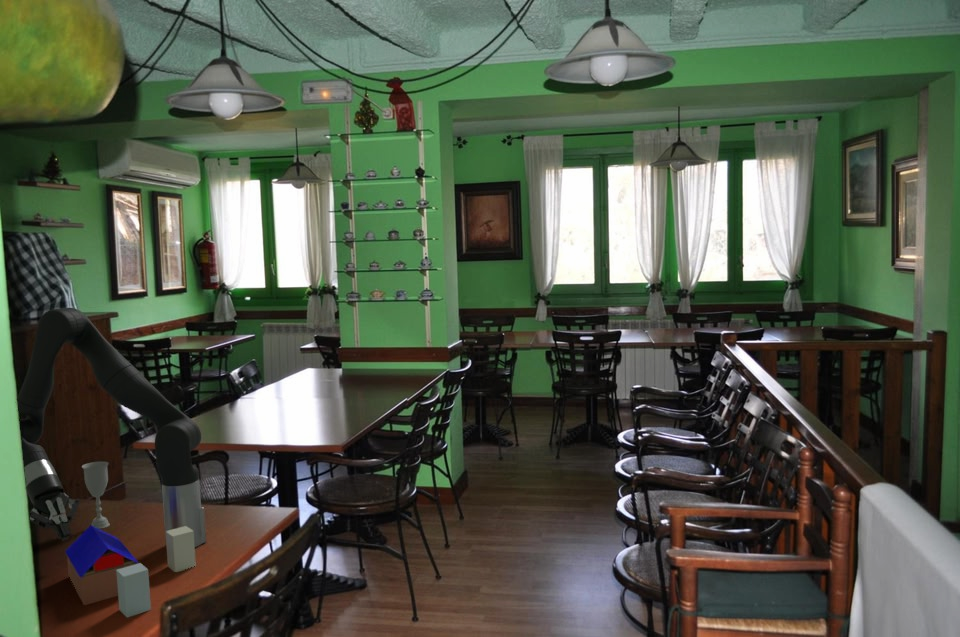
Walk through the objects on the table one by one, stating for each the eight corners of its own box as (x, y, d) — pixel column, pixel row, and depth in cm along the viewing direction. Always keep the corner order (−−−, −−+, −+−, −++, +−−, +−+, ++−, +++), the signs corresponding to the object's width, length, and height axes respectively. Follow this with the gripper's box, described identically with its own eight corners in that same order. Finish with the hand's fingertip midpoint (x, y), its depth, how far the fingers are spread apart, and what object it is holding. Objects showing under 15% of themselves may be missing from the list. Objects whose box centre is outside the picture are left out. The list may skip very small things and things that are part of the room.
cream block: (188, 560, 189) (185, 525, 188) (195, 566, 185) (193, 530, 184) (168, 566, 185) (165, 531, 185) (175, 572, 182) (172, 536, 181)
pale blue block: (143, 602, 166) (140, 562, 166) (151, 609, 163) (148, 569, 162) (119, 609, 163) (116, 569, 162) (126, 617, 159) (123, 576, 158)
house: (120, 564, 188) (117, 519, 187) (140, 591, 173) (137, 541, 172) (67, 578, 181) (63, 531, 180) (82, 607, 165) (78, 555, 164)
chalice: (118, 524, 217) (113, 463, 216) (95, 532, 211) (90, 469, 210) (104, 520, 221) (99, 460, 219) (81, 527, 215) (76, 466, 214)
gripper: (16, 480, 186) (41, 538, 180) (72, 467, 197) (97, 521, 190) (10, 497, 190) (34, 554, 183) (64, 483, 200) (89, 537, 194)
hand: (66, 538), depth 187 cm, fingers closed
